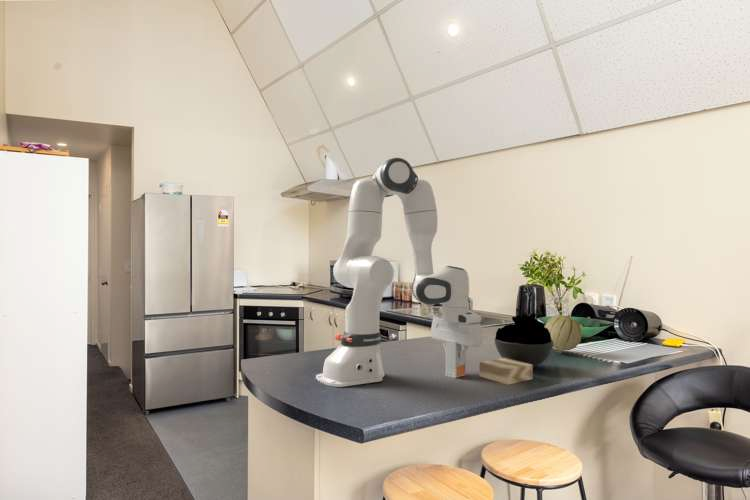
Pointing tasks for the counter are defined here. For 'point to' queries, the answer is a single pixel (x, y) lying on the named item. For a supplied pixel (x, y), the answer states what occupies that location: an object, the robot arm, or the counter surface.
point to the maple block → (506, 370)
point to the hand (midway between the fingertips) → (455, 356)
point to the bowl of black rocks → (524, 340)
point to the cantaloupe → (564, 332)
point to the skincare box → (454, 360)
